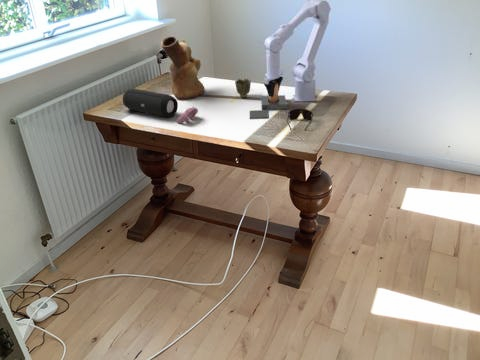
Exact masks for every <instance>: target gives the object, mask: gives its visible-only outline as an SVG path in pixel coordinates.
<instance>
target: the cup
mask: <svg viewBox="0 0 480 360" xmlns="http://www.w3.org/2000/svg"><path fill="white" fill-rule="evenodd" d="M234 83H235V90H236V92H237V94H239V97H240V98H241V99H245V98H247V97H248V94H249V93H250V91H251V83H252V82H251V80H250V79H248V78H244V79H243V80H242V78H241V79H240V78H238V79H237V80H235V81H234Z"/></svg>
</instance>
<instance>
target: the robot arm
mask: <svg viewBox="0 0 480 360" xmlns="http://www.w3.org/2000/svg"><path fill="white" fill-rule="evenodd" d="M331 9H332V8H331V6H330V4H329V1H327V0H307V1H306V2H304V3H303V5H302V8H300V10H298V12H297V13H296V14H295V15H294V16H293V18H292V19H291V20H290V21H289V22H288V23H283V24H280V26H279V28H278V29H277V30H276V31H275V32H274V33H272V34H271V35H270V36H268V37H267V38H266V39H265V40H264V43H263V46H264V48H265V51H266V73H265V74H264V79H263V85H264V87H265V88H266V92H267V96H270V97H273V96H274V89H275V85H276V83H278V93H279V91H280V88H281V84H282V81H283V79H284V77H283V76H282V75H283V70H282V69H281V66H280V65H281V63H280V62H281V61H280V60H281V59H280V58H281V55H280V52H281V51H282V49H283V46H284V44H285V42H286V41H287V40H289V38H291V36H293V35H294V30H295V29H296V28H297V27H298V26H299V25H301V23H303V22H305V20H307V19H308V18H312V19H313V23H314V24H313V27H312V30H311V32H310V35H309V38H308V41H307V44H306V46H305V48H304V49H305V50H304V52H303V54H302V56H301V57H300V58H299V59H297V62H296V64H295V65H294V66H293V68H292V70H291V71H292V74H293V75H292V76H294V87H295V88H294V94H293V95H292V96H293V99H294V100H293V101H294V102H295V103H297V102H315V101H316V79H314V77H315V69H316V65H315V62H314V61H315V59H316V57H317V53H318V52H319V51H318V50H319V48H320V46H321V43H322V41H323V38H324V35H325V33H326V29H327V27H328V24H329V17H330V12H331ZM272 81H275V82H276V83H275V82H272Z"/></svg>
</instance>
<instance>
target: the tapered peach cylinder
mask: <svg viewBox="0 0 480 360" xmlns="http://www.w3.org/2000/svg"><path fill="white" fill-rule="evenodd" d="M272 82H275V81H272ZM275 83H276V82H275ZM278 96H279V92H278V83H276V85H275V89H274V96H273V97H270V96H269V102H278Z"/></svg>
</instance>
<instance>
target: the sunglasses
mask: <svg viewBox="0 0 480 360" xmlns="http://www.w3.org/2000/svg"><path fill="white" fill-rule="evenodd" d="M300 114H301V115H302V118H303V119H304V121H310V122H309V123H308V124H307V125H306V127H305V128H304V131H307V128H308V127H309V126H310V125H311V123H312V122H313V121H312V120H313V117H314V113H313V112H312V111H311V110H310V109H307V108H293V109H291V110H289V112H287V117H286V118H287V120H286V123H287V125H288V127H289V129H290V131H291V130H292V127H291V125H290V123H289V120H298V118H299V117H300V116H301V115H300Z"/></svg>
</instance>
